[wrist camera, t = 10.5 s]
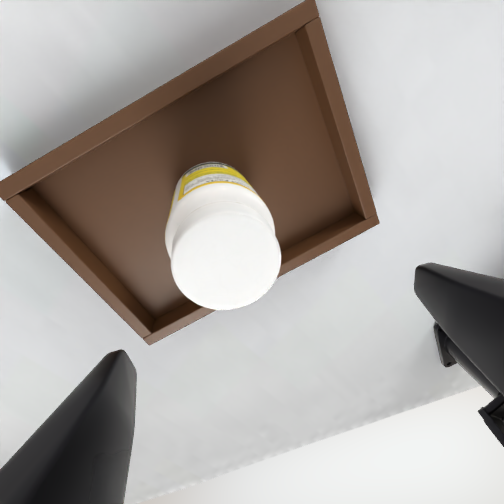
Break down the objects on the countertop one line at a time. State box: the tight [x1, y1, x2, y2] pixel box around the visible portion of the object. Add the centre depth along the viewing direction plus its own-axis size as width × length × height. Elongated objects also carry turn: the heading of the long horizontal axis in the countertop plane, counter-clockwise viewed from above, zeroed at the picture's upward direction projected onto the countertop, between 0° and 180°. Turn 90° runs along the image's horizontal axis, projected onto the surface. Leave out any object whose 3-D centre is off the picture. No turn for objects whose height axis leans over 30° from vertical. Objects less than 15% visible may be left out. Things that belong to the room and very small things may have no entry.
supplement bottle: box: [165, 162, 281, 310], centre depth 14 cm, size 5×5×8 cm
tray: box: [0, 0, 379, 345], centre depth 17 cm, size 13×18×2 cm
